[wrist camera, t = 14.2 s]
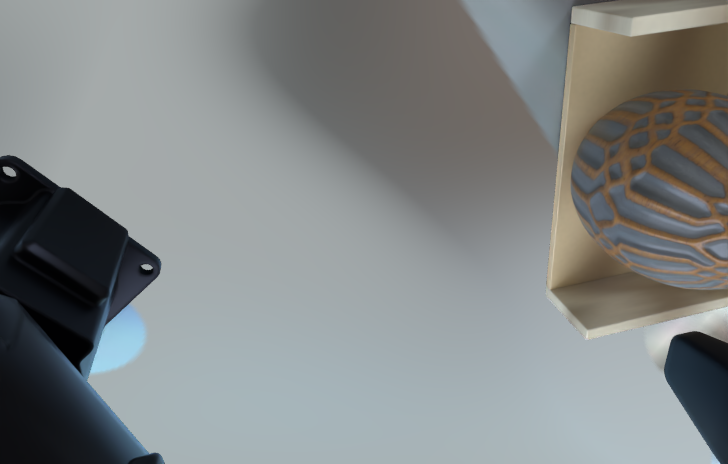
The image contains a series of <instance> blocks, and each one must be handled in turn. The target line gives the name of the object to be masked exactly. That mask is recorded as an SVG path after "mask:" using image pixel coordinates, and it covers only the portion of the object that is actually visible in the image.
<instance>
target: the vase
mask: <svg viewBox="0 0 728 464" xmlns="http://www.w3.org/2000/svg"><path fill="white" fill-rule="evenodd" d="M571 195H572V199H573V203H574V207H575V209H576V212H577V214H578V216H579V218H580V220H581V222H582V224H583V226H584V228H585V229H586V231H587V232H588V233H589V235H590V236H591V238H592V239H593V240H594V241H595V242H596V243H597V244H598V245H599V246H600V247H601V248H602V249H603V250H604V251H605V252H606V253H607V254H609V255H610V256H611V257H612V258H613V259H615V260H616V261H617V262H619V263H620V264H621V265H623V266H624V267H626V268H628V269H630V270H631V271H633V272H635V273H637V274H639V275H641V276H644V277H646V278H649V279H651V280H654V281H657V282H660V283H663V284H666V285H670V286H674V287H679V288H685V289H697V290H711V289H728V96H725V95H722V94H718V93H713V92H708V91H702V90H694V89H674V90H664V91H656V92H652V93H648V94H644V95H640V96H637V97H634V98H632V99H630V100H627V101H626V102H624V103H622V104H620V105H618V106H617V107H615V108H614V109H612V110H611V111H609V112H608V113H607V114H605V115H604V116H603V117H602V118H601V119H600V120H598V121H597V122H596V124H595V125H594V126H593V127H592V128H591V129H590V130H589V132H588V133H587V134H586V136H585V137H584V139H583V141H582V142H581V144H580V146H579V148H578V150H577V153H576V155H575V158H574V162H573V166H572V172H571Z"/></svg>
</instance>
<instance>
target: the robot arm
mask: <svg viewBox="0 0 728 464" xmlns="http://www.w3.org/2000/svg"><path fill="white" fill-rule="evenodd" d="M3 167H10V168H12V169H13V170H14V171H15V172H16V176H15V177H11V176H8V175H6V174H5V173H4V171H3ZM143 264H149V265H151V266H152V267H153V269H151V270H145V269H143V268H142V267H141V265H143ZM160 269H161V261H160V259H159V258H158V257H157V256H156V255H154V254H153V253H152V252H150V251H149V250H147V249H146V248H145V247H143V246H141V245H140V244H139V243H137V242H136V241H135V240H133V239H132V238H130V237H129V236H128V231H127V230H126V229H125V228H124V227H123V226H121V225H120V224H118V223H117V222H116V221H114V220H113V219H111V218H110V217H109V216H107V215H106V214H104V213H103V212H102V211H100V210H99V209H97V208H96V207H95V206H93V205H92V204H91V203H89V202H88V201H86V200H85V199H84V198H82V197H81V196H79V195H78V194H77V193H75V192H74V191H72V190H71V189H70V188H61V187H59V186H58V185H56V184H55V183H53V182H52V181H51V180H49V179H48V178H46V177H45V176H43V175H42V174H41V173H39V172H38V171H37V170H35V169H34V168H32V167H31V166H30V165H28V164H27V163H25V162H24V161H23V160H21V159H19V158H17V157H15V156H10V155H7V156H2V157H0V464H165V463H164V460H163V458H162V456H161V455H160V454H159V453H151V454H149V453H148V452H147V450H146V449H145V448H144V447H143V446H142V445H141V444H140V442H139V441H138V440H137V439H136V438H135V437H134V436H133V434H132V433H131V432H130V431H129V430H128V428H127V427H126V426H125V425H124V424H123V423H122V421H121V420H120V419H119V418H118V417H117V416H116V415H115V413H114V412H113V411H112V410H111V409H110V407H109V406H108V405H107V404H106V403H105V402H104V401H103V399H102V398H101V397H100V396H99V395H98V394H97V392H96V391H95V390H94V389H93V388H92V387H91V386H90V384H89V383H88V382H87V379H88V376H89V373H90V370H91V367H92V363H93V360H94V357H95V354H96V351H97V348H98V344H99V341H100V338H101V335H102V332H103V329H104V326H105V325H106V324H107V323H108V322H110V321H111V320H112V319H113V318H114V317H115V316H116V315H117V314H118V313H119V312H120V311H121V310H122V309H123V308H125V307H126V306H127V305H128V304H129V303H130V302H131V301H132V300H133V299H134V298H135V297H136V296H137V295H139V294H140V293H141V292H142V291H143V290H144V289H145V288H146V287H147V286H148V285H149V284H150V283H151V282H152V281H153V280H155V279H156V278H157V277H158V275H159V274H160ZM664 374H665V377H666V380H667V382H668V384H669V385H670V387H671V389H672V390H673V392H674V393H675V395H676V396H677V398H678V400H679V401H680V403H681V404H682V406H683V407H684V409H685V410H686V412H687V414H688V415H689V417H690V418H691V420H692V421H693V423H694V425H695V426H696V428H697V429H698V431H699V432H700V434H701V435H702V437H703V439H704V440H705V441H706V443H707V445H708V446H709V448H710V449H711V451H712V452H713V454H714V455H715V457H716V458H717V459H718V461H719V462H720V464H728V343H726V342H723V341H721V340H719V339H716V338H714V337H711V336H709V335H706V334H704V333H701V332H697V331H693V332H688V333H683V334H679V335H676V336H674V337H673V338H672V340H671V343H670V347H669V351H668V355H667V359H666V363H665V367H664Z"/></svg>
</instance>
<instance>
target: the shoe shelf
mask: <svg viewBox="0 0 728 464" xmlns="http://www.w3.org/2000/svg"><path fill="white" fill-rule="evenodd" d="M571 23H572V24H570V34H569V44H568V55H567V66H566V77H565V88H564V98H563V109H562V120H561V131H560V141H559V152H558V163H557V175H556V184H555V195H554V206H553V217H552V228H551V238H550V249H549V260H548V271H547V281H546V286H547V287H546V297H547V298H548V299H549V300H550V301H551V302H552V303H553V304H554V305H555V306H556V308H557V309H558V310H559V311H560V312H561V313H562V314H563V315H564V316H565V317H566V319H567V320H568V321H569V322H570V323H571V324H572V325H573V326H574V327H575V328H576V329H577V331H578V332H579V333H580V334H581V335H582V336H583V337H584V338H585V339H586V340H589V339H594V338H597V337H602V336H606V335H610V334H615V333H619V332H623V331H627V330H631V329H635V328H640V327H644V326H648V325H652V324H657V323H661V322H665V321H669V320H673V319H678V318H682V317H686V316H690V315H694V314H699V313H703V312H707V311H711V310H715V309H720V308H724V307H728V289H711V290H697V289H685V288H679V287H674V286H670V285H666V284H663V283H660V282H657V281H654V280H651V279H649V278H646V277H644V276H641V275H639V274H637V273H635V272H633V271H631V270H630V269H628V268H626V267H624V266H623V265H621V264H620V263H619V262H617V261H616V260H615V259H613V258H612V257H611V256H610V255H609V254H607V253H606V252H605V251H604V250H603V249H602V248H601V247H600V246H599V245H598V244H597V243H596V242H595V241H594V240H593V239H592V238H591V236H590V235H589V233H588V232H587V231H586V229H585V228H584V226H583V224H582V222H581V220H580V218H579V216H578V214H577V212H576V209H575V207H574V203H573V199H572V195H571V172H572V166H573V162H574V158H575V155H576V153H577V150H578V148H579V146H580V144H581V142H582V141H583V139H584V137H585V136H586V134H587V133H588V132H589V130H590V129H591V128H592V127H593V126H594V125H595V124H596V122H597V121H598V120H600V119H601V118H602V117H603V116H604V115H605V114H607V113H608V112H609V111H611V110H612V109H614V108H615V107H617V106H618V105H620V104H622V103H624V102H626V101H627V100H630V99H632V98H634V97H637V96H640V95H644V94H648V93H652V92H656V91H664V90H674V89H694V90H702V91H708V92H713V93H718V94H722V95H725V96H728V0H618V1H610V2H602V3H595V4H587V5H580V6H574V7H572V14H571Z"/></svg>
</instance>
